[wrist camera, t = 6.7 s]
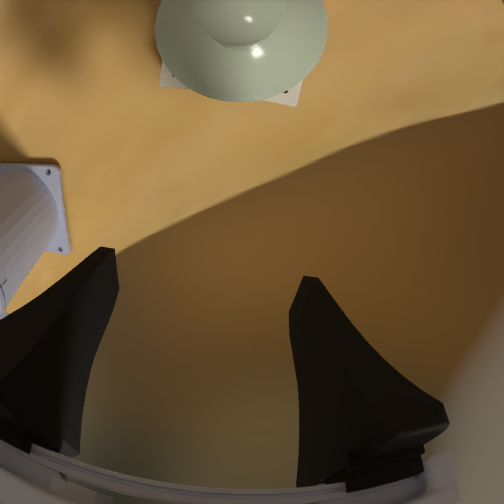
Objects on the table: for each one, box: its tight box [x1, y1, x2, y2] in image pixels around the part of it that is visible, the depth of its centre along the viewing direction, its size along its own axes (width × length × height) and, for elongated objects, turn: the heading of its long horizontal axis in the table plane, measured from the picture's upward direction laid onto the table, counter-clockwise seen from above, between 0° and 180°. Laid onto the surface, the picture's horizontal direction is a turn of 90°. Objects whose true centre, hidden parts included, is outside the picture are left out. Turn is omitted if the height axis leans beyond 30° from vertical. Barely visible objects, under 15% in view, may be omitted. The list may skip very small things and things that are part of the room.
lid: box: [155, 0, 328, 102], centre depth 9 cm, size 8×8×6 cm
